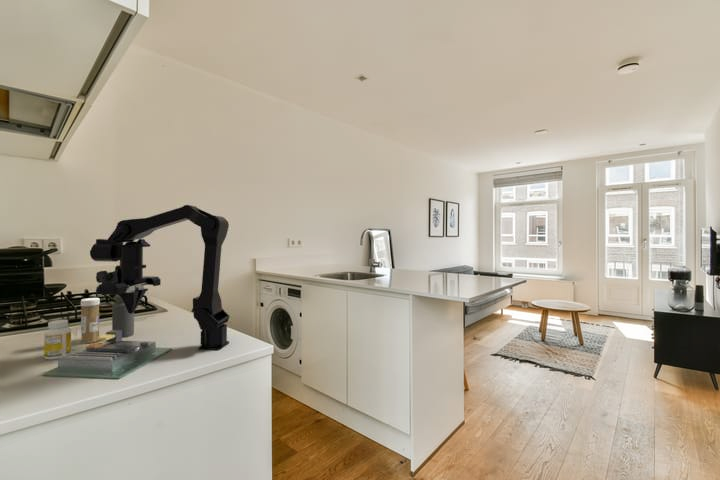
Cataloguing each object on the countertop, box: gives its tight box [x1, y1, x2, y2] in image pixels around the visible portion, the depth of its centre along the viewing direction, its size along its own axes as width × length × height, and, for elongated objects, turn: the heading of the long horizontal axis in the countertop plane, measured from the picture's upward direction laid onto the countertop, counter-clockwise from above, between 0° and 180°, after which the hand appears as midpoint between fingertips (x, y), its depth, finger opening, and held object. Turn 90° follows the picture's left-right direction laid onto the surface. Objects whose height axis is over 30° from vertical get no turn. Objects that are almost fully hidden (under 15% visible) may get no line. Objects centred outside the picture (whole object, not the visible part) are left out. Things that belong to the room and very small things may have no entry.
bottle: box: [111, 295, 135, 339], centre depth 107 cm, size 6×6×15 cm
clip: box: [97, 329, 123, 342], centre depth 90 cm, size 3×5×3 cm, turn 177°
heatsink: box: [43, 339, 173, 380], centre depth 85 cm, size 19×19×4 cm
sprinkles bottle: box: [80, 297, 101, 345], centre depth 101 cm, size 5×5×14 cm
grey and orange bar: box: [85, 342, 144, 352], centre depth 85 cm, size 13×3×1 cm, turn 87°
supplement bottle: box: [43, 319, 72, 360], centre depth 89 cm, size 5×5×10 cm
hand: (131, 313), depth 98 cm, fingers closed
